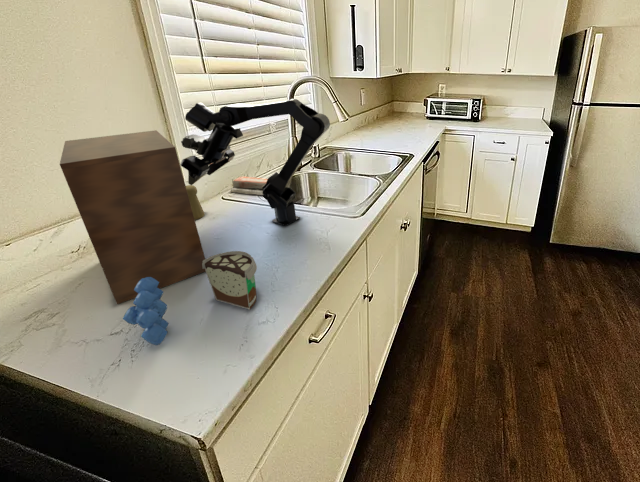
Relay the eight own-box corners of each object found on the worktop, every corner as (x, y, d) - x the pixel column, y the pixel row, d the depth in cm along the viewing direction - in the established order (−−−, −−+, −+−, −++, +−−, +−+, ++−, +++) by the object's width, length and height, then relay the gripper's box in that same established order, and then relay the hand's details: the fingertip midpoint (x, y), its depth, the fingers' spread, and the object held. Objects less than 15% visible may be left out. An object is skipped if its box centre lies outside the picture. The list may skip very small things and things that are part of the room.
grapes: (136, 323, 66) (117, 273, 61) (176, 310, 69) (160, 262, 64) (127, 366, 56) (104, 311, 52) (174, 349, 59) (155, 296, 55)
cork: (183, 221, 107) (174, 191, 103) (185, 214, 112) (176, 185, 108) (204, 218, 110) (196, 187, 106) (205, 211, 115) (197, 182, 111)
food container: (275, 292, 74) (268, 255, 70) (255, 311, 68) (246, 271, 65) (232, 282, 78) (223, 245, 74) (210, 298, 72) (200, 260, 69)
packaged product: (227, 181, 130) (244, 173, 139) (229, 192, 131) (246, 184, 140) (266, 184, 125) (281, 176, 134) (268, 196, 127) (283, 187, 136)
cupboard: (185, 233, 100) (156, 130, 88) (208, 270, 82) (175, 146, 70) (110, 256, 89) (64, 141, 77) (117, 304, 71) (59, 164, 59)
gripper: (213, 119, 106) (195, 156, 111) (173, 131, 89) (153, 174, 94) (244, 139, 108) (224, 175, 113) (210, 155, 91) (189, 195, 96)
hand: (199, 179), depth 104 cm, fingers open, 9 cm apart
